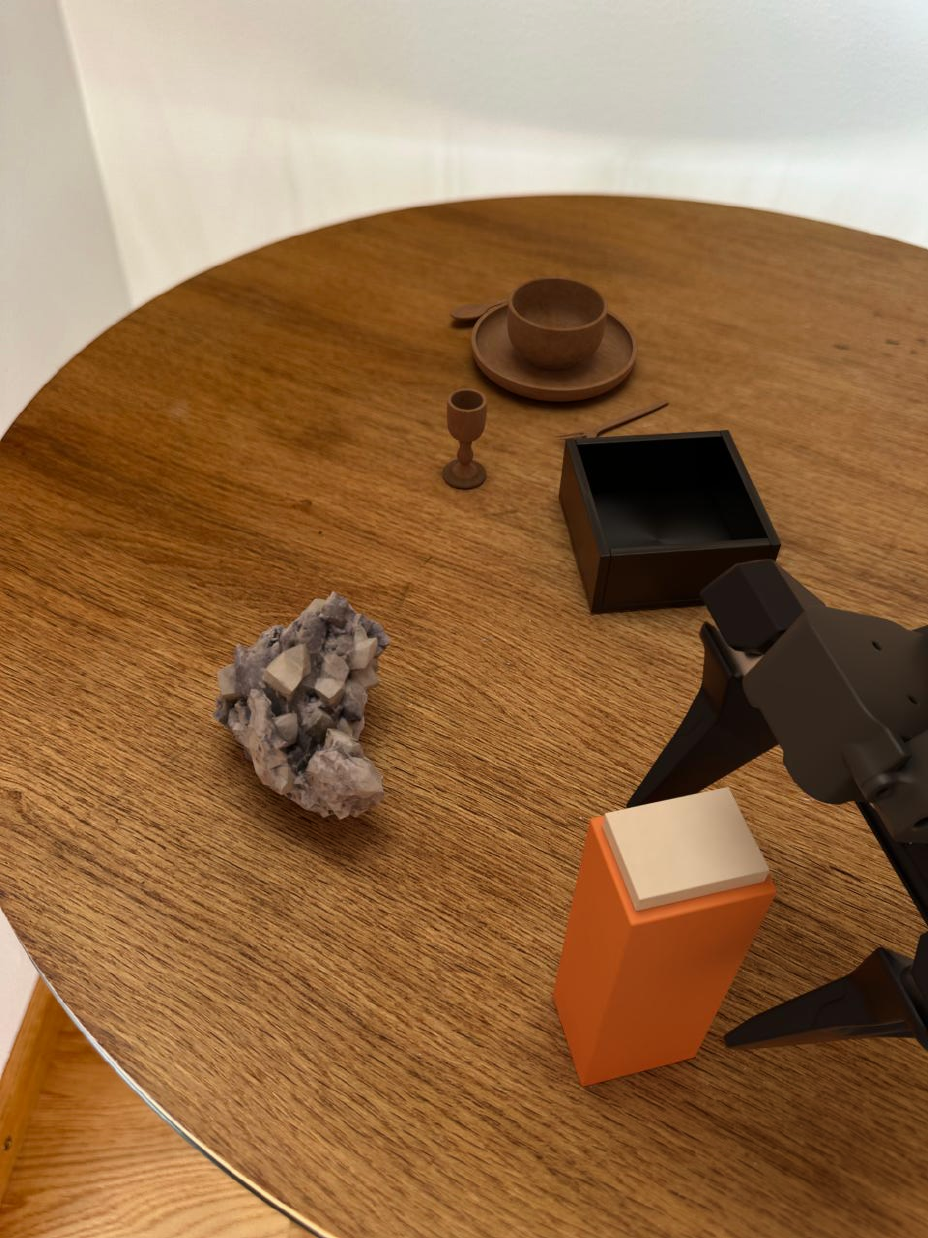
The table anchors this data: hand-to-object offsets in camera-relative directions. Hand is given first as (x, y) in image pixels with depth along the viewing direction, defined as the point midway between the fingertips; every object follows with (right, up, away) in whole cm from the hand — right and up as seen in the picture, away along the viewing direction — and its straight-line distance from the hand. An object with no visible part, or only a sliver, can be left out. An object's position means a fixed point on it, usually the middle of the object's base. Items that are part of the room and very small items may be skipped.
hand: (677, 920), depth 39 cm
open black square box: (+4, +15, +27) cm, 31 cm away
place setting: (-4, +28, +38) cm, 47 cm away
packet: (-1, -6, +7) cm, 9 cm away
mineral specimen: (-16, +4, +16) cm, 23 cm away
